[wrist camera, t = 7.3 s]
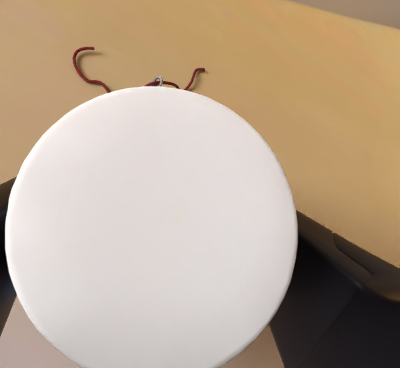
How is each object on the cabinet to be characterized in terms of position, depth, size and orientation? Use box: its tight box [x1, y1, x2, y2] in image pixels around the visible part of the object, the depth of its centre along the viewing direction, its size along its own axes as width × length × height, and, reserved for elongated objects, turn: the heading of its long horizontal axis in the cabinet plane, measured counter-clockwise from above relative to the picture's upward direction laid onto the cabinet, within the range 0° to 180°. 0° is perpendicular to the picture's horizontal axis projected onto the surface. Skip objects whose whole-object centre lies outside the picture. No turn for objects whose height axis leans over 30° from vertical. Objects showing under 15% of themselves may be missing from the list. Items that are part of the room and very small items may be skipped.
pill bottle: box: [5, 86, 298, 368], centre depth 9 cm, size 6×6×11 cm
